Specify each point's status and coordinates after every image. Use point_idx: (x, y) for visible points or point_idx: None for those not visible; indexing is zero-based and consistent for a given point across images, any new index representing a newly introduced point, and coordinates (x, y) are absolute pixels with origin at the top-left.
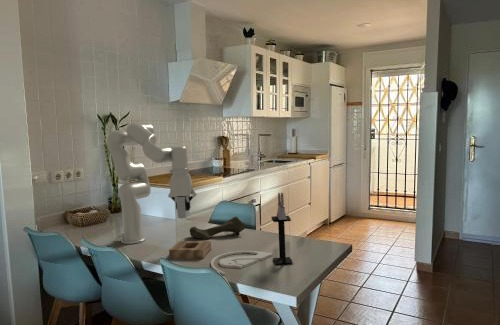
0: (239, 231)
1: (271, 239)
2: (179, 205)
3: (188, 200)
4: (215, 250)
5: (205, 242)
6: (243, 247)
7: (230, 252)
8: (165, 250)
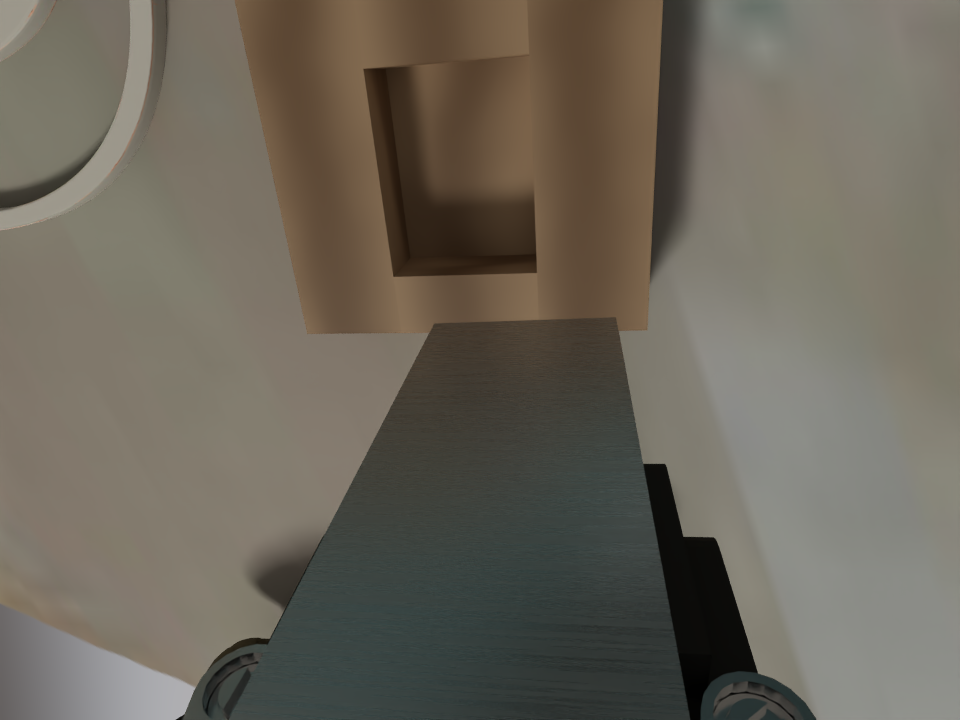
0: (260, 638)
1: (33, 529)
2: (545, 497)
3: (224, 712)
4: (288, 276)
5: (340, 290)
6: (113, 360)
7: (94, 172)
8: (785, 251)
